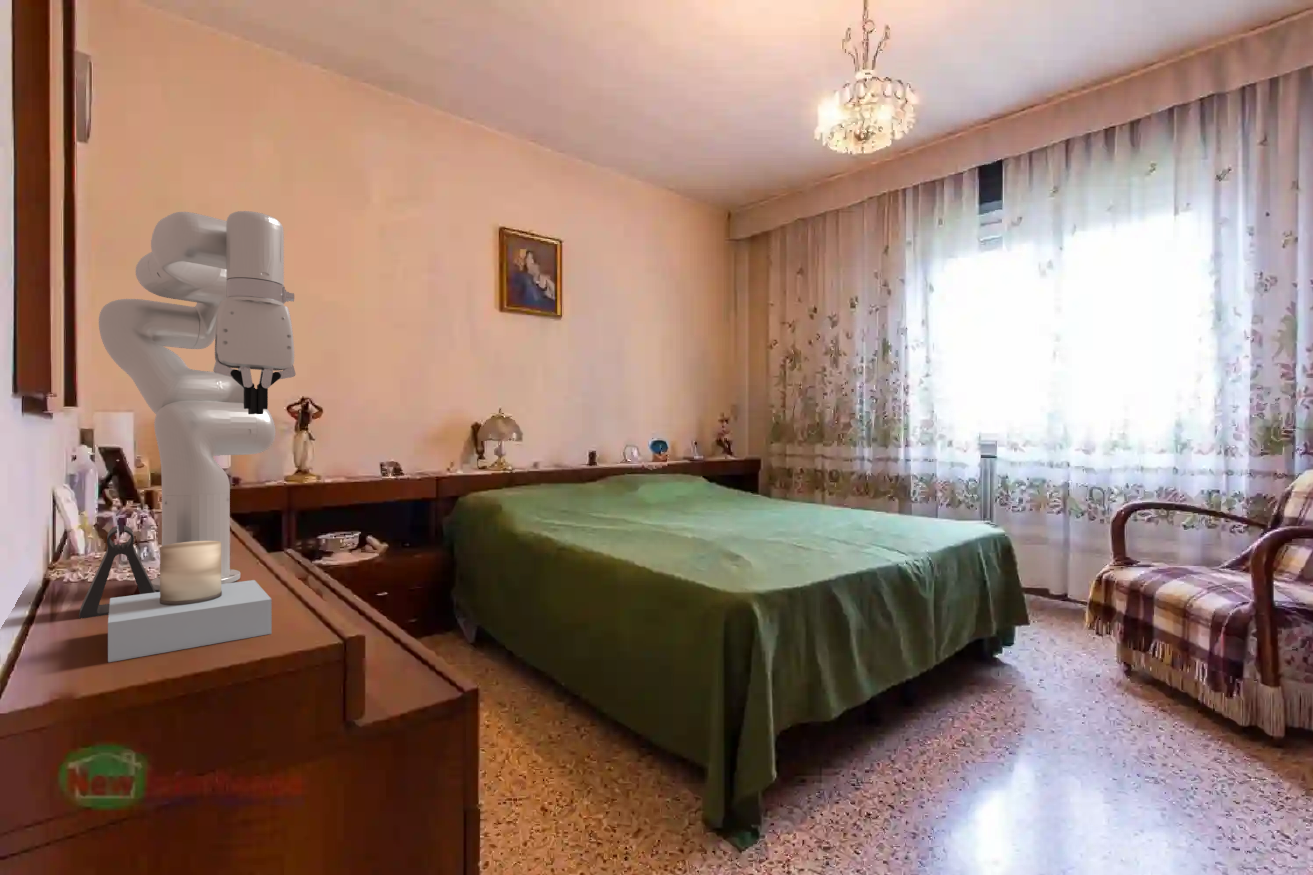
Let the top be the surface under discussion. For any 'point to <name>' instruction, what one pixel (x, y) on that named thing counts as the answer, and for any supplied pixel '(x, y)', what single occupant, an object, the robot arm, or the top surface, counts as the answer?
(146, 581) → the dark grey a-shaped piece
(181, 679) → the top surface
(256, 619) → the gray rectangular block
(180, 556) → the beech peg
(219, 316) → the robot arm
